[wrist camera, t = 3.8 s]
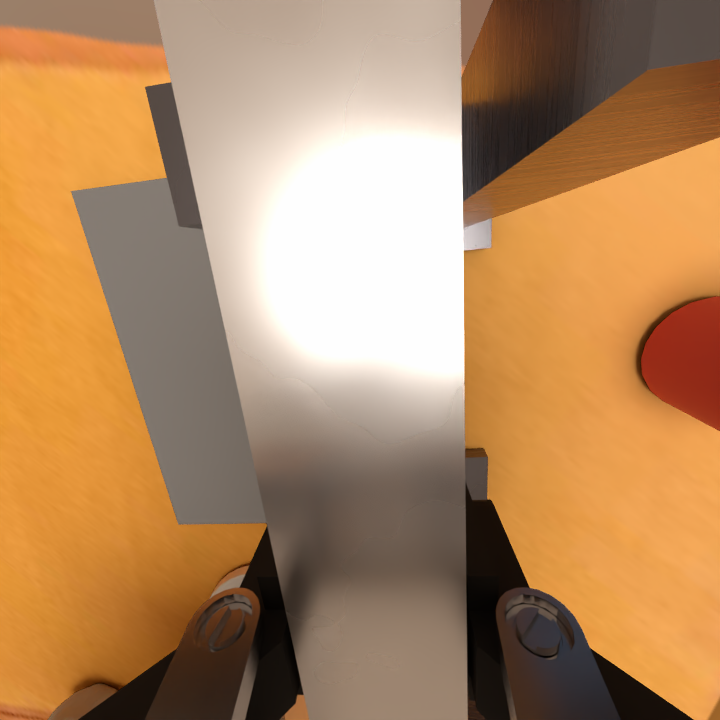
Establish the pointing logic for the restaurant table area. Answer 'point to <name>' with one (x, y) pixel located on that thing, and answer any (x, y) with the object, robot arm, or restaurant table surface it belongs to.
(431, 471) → the rail
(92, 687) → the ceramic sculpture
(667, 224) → the restaurant table surface
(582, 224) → the restaurant table surface
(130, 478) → the restaurant table surface
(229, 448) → the mat
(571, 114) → the hook stand
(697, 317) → the beer can
